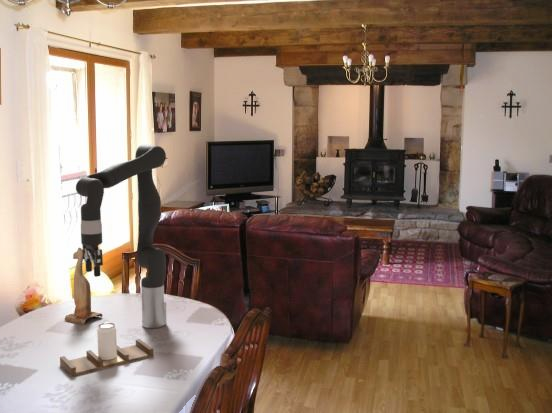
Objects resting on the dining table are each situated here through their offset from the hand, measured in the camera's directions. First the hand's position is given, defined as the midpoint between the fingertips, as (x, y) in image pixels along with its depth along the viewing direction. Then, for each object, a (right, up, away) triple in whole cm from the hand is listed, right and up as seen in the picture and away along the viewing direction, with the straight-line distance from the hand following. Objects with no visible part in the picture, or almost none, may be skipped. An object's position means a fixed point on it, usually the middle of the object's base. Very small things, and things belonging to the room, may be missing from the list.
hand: (93, 273), depth 231 cm
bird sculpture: (-14, -24, +34) cm, 43 cm away
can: (+8, -29, -10) cm, 32 cm away
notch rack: (+8, -30, -10) cm, 33 cm away
